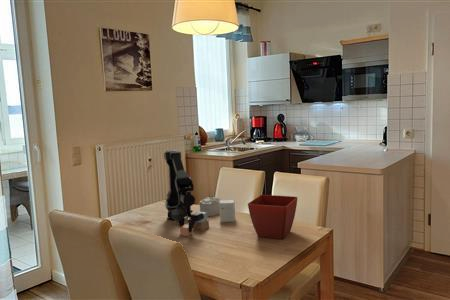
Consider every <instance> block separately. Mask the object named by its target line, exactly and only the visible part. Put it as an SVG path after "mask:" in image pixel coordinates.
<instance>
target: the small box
mask: <svg viewBox="0 0 450 300" xmlns="http://www.w3.org/2000/svg"><path fill="white" fill-rule="evenodd" d="M235 205H236V204H235V200H234V199H229V200H222V201H220V203H219V207H220V214H219V220H220V222H222V223H224V222H227V223H229V222H235V221H236V207H235Z"/></svg>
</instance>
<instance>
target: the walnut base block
mask: <svg viewBox="0 0 450 300" xmlns="http://www.w3.org/2000/svg"><path fill="white" fill-rule="evenodd" d="M209 222H210V220H209V219H207V220H206V221H204V222H202V223H199V222H195V224H194V226H193V230H195V231H201V232H203V231H205V230H206V229H208V228H210V223H209Z"/></svg>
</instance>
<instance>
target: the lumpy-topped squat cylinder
mask: <svg viewBox="0 0 450 300" xmlns="http://www.w3.org/2000/svg"><path fill="white" fill-rule="evenodd" d="M220 201H223V199H222V198H219V197H216V196H213V197H209V196H207V197H205V198H203V199H201V200H200V201H199V212H206V213H207V217H211V216H217V215H220V207H219V203H220Z"/></svg>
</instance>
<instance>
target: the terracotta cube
mask: <svg viewBox="0 0 450 300" xmlns="http://www.w3.org/2000/svg"><path fill="white" fill-rule="evenodd" d="M193 230H194V229H192V232H191V233H190V232H189V224H185V225H183V226H181V227H180V226H179V235H180V236H185V237H187V236H188V237H189V236H190V235H192V234H193V233H194V231H193Z"/></svg>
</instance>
